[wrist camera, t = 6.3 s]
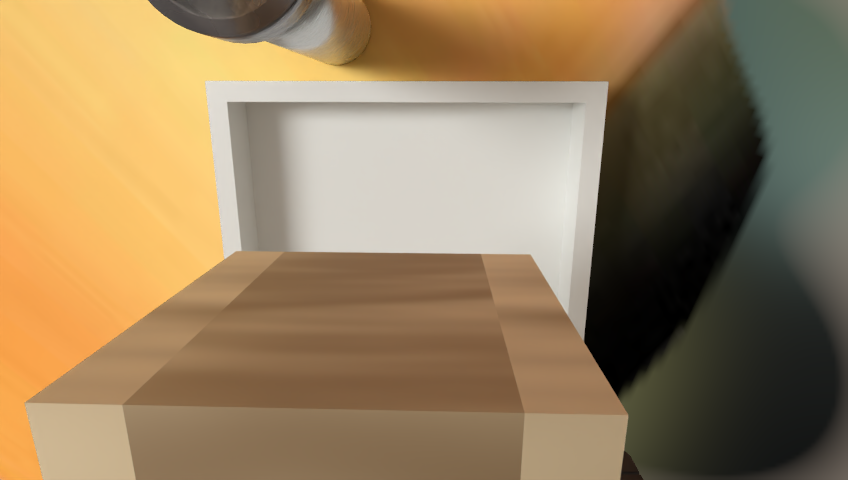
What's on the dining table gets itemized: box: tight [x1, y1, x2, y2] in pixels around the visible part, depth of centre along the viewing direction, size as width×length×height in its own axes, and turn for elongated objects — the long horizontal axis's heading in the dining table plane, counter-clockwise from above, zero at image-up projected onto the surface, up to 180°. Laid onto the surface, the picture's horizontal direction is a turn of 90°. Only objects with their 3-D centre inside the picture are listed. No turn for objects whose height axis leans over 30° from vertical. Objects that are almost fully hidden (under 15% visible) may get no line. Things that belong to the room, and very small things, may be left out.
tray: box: [205, 81, 609, 341], centre depth 28 cm, size 20×20×3 cm
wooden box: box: [25, 251, 628, 480], centre depth 12 cm, size 9×9×8 cm
